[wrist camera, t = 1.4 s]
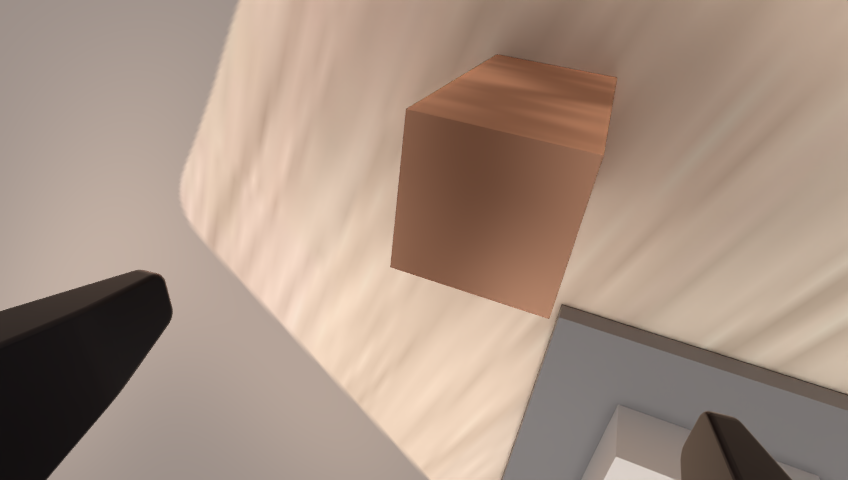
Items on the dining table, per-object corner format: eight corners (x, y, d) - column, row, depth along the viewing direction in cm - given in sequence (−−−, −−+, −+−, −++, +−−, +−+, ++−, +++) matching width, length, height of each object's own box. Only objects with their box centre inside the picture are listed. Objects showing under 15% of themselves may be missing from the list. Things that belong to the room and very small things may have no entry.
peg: (617, 77, 17) (603, 155, 10) (581, 189, 20) (549, 318, 12) (497, 54, 19) (405, 108, 11) (476, 163, 21) (390, 267, 14)
